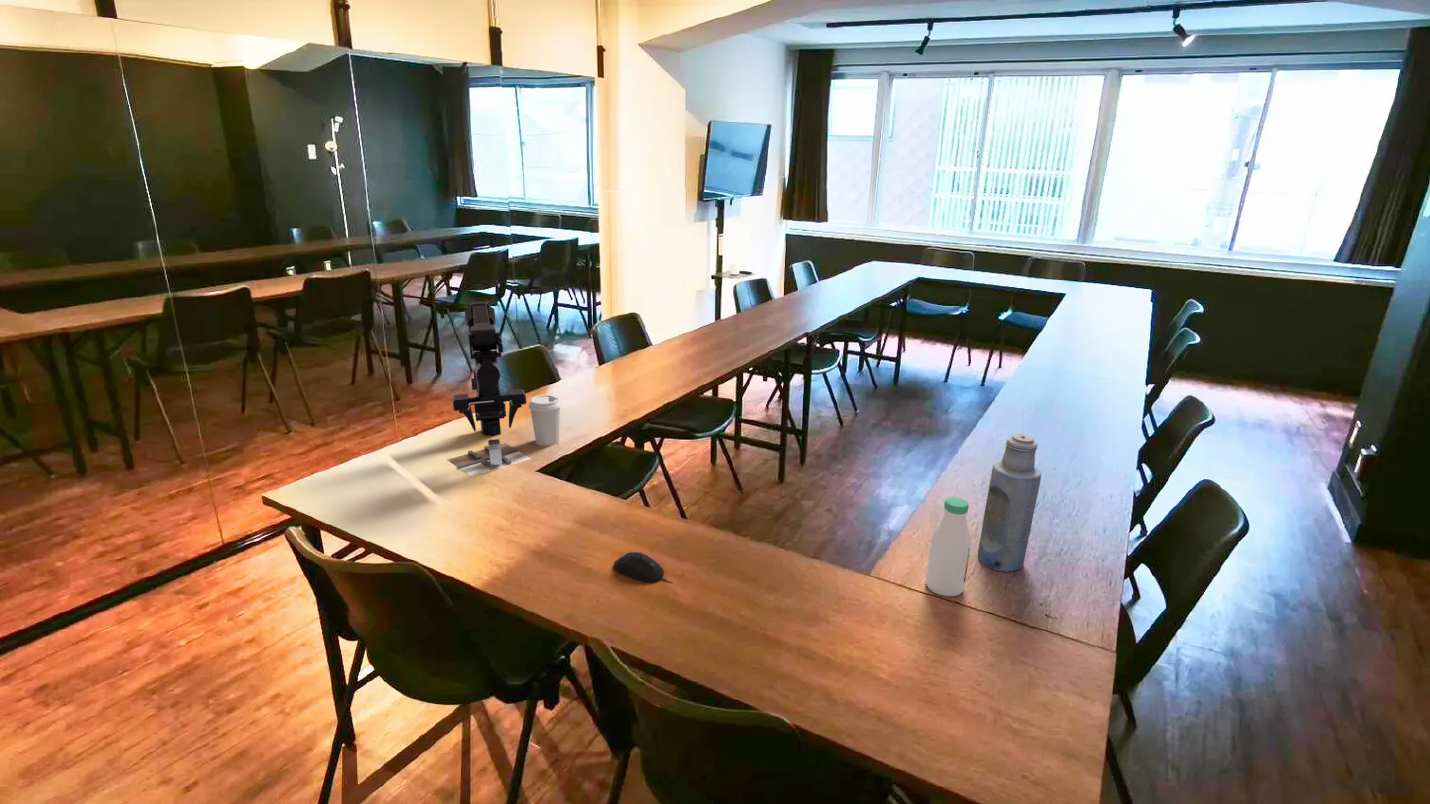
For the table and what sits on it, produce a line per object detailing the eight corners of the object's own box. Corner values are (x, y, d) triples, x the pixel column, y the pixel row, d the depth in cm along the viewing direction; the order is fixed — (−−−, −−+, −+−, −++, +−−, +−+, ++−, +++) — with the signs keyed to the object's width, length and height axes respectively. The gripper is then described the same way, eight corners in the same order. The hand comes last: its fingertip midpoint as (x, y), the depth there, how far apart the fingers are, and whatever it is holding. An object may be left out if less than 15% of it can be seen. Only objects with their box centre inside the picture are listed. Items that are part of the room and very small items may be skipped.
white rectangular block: (502, 463, 197) (500, 446, 195) (490, 465, 196) (489, 448, 194) (500, 455, 202) (499, 438, 200) (489, 456, 201) (488, 440, 199)
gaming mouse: (664, 592, 146) (664, 575, 145) (607, 570, 153) (607, 554, 152) (681, 577, 151) (681, 561, 150) (626, 557, 159) (625, 541, 157)
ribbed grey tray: (447, 464, 201) (446, 456, 201) (506, 447, 213) (505, 439, 212) (472, 482, 191) (471, 473, 190) (531, 463, 203) (531, 455, 202)
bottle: (967, 554, 161) (987, 431, 151) (1001, 545, 165) (1022, 425, 155) (999, 576, 153) (1021, 448, 143) (1033, 567, 157) (1057, 441, 147)
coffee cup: (556, 453, 210) (553, 405, 205) (525, 450, 211) (522, 403, 206) (568, 441, 219) (566, 395, 213) (539, 438, 220) (536, 392, 215)
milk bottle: (958, 602, 144) (972, 514, 137) (920, 589, 148) (932, 504, 141) (967, 583, 150) (981, 499, 144) (931, 572, 154) (942, 489, 147)
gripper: (520, 363, 200) (524, 415, 206) (450, 369, 194) (456, 422, 200) (524, 375, 190) (528, 429, 196) (450, 381, 185) (456, 437, 190)
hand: (492, 429), depth 195 cm, fingers open, 9 cm apart
